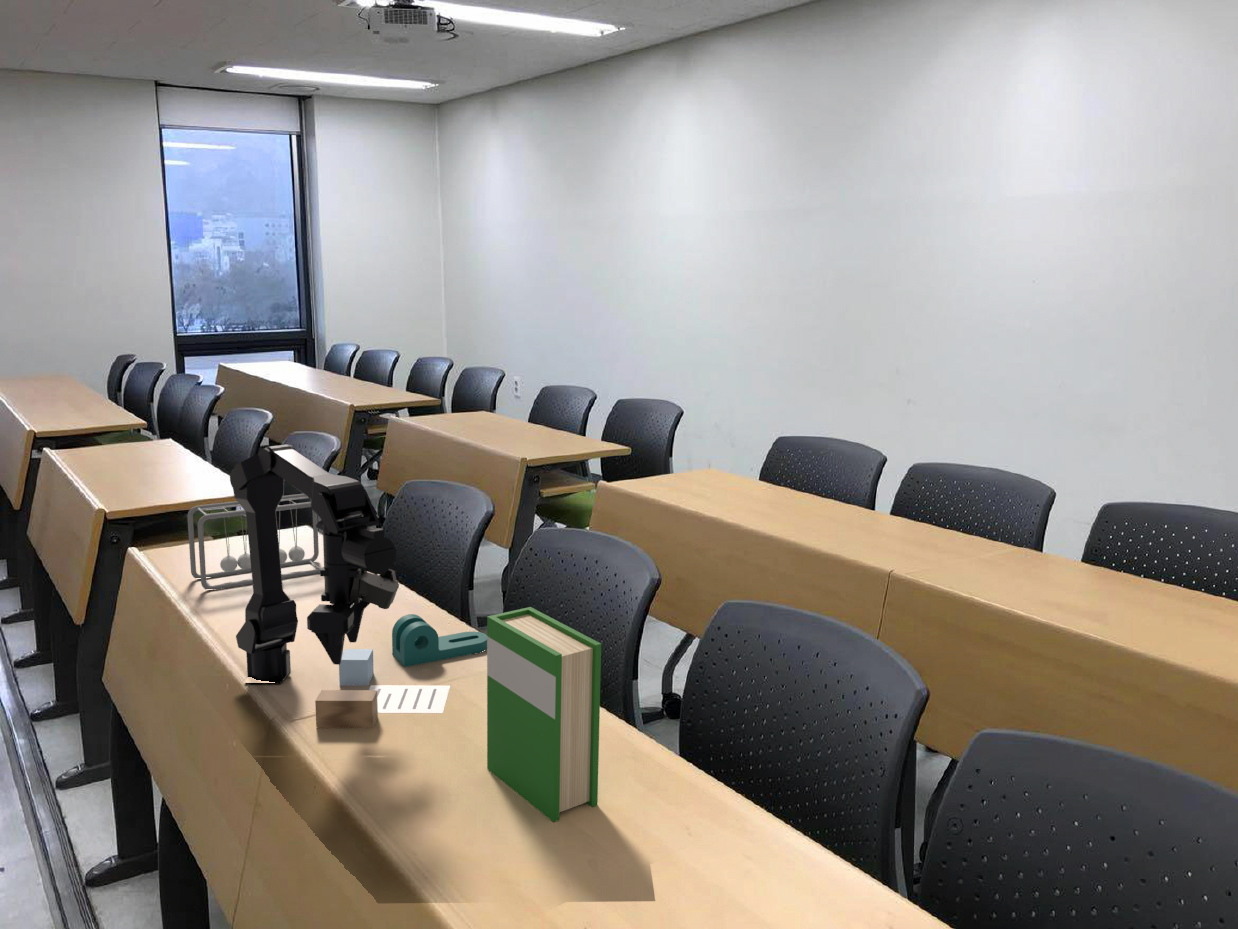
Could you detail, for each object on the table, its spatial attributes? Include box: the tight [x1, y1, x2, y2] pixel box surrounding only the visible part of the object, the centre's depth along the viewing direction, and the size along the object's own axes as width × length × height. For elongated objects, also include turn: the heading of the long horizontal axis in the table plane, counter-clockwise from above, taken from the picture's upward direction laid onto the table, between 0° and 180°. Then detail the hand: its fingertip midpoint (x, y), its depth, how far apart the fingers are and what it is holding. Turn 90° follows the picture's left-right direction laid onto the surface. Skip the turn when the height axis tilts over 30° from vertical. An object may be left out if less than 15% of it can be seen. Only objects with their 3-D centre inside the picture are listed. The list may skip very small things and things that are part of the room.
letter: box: [368, 684, 451, 714], centre depth 169 cm, size 14×11×1 cm
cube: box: [338, 648, 375, 686], centre depth 176 cm, size 5×5×5 cm
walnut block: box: [314, 689, 379, 729], centre depth 160 cm, size 9×4×5 cm, turn 92°
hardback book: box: [486, 606, 602, 823], centre depth 140 cm, size 18×7×24 cm, turn 38°
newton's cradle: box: [187, 493, 323, 590], centre depth 231 cm, size 30×10×18 cm, turn 126°
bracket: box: [391, 613, 487, 668], centre depth 189 cm, size 18×7×8 cm, turn 121°
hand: (345, 652), depth 158 cm, fingers open, 9 cm apart
